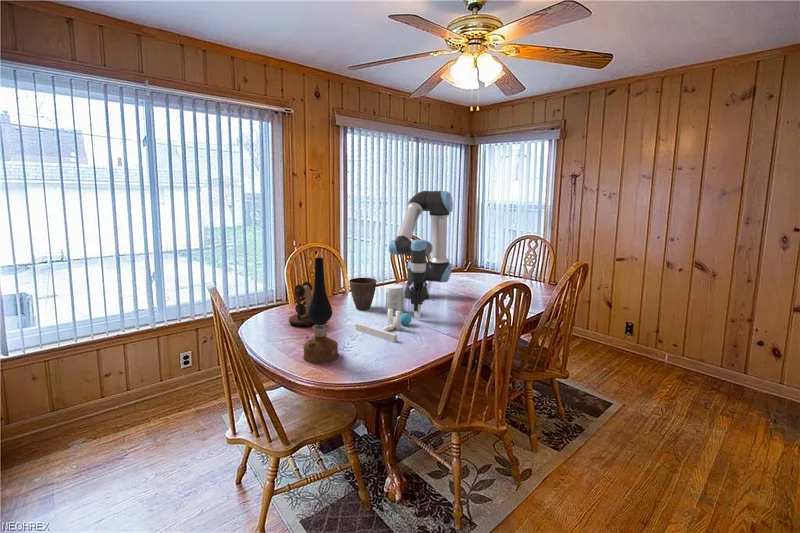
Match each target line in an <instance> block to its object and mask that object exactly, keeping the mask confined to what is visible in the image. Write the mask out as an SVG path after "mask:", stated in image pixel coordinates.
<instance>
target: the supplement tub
mask: <svg viewBox="0 0 800 533" xmlns="http://www.w3.org/2000/svg"><path fill="white" fill-rule="evenodd" d="M404 292H405V291H404V285H401V284H387V285H386V286H385V313H386V314H387V315H388V309H393V316H396V311H401V314H403V313H405V312H404V311H405V310H404V308H405V307H404V306H405V305H404V303H405V302H404V299H405V297H404Z"/></svg>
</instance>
